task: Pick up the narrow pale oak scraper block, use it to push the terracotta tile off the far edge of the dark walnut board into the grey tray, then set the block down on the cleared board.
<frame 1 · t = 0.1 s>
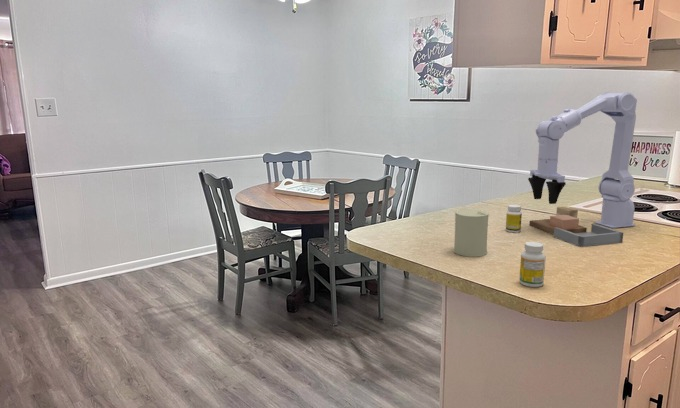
hand: (544, 201, 158), 10 cm above the worktop, tool pointing down, fingers open, 7 cm apart
supplement bottle 2: (531, 284, 116), on the worktop
can: (470, 252, 140), on the worktop
board: (556, 228, 163), on the worktop
tray: (586, 239, 151), on the worktop
tile: (563, 226, 160), point 2 cm above the worktop, touching board
scraper: (566, 222, 172), on the worktop
supplement bottle: (512, 231, 162), on the worktop
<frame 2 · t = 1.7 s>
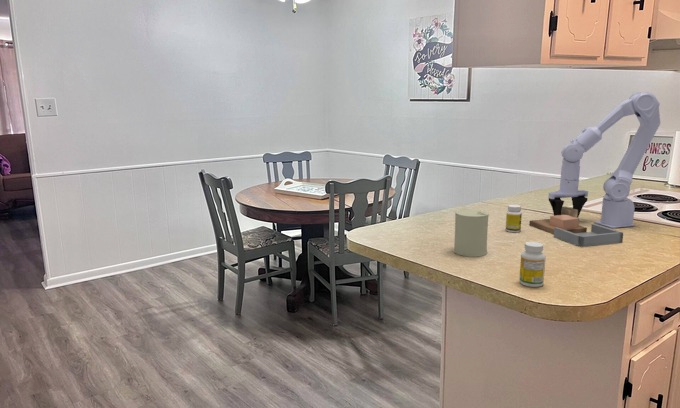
hand: (566, 217, 171), 2 cm above the worktop, tool pointing down, fingers open, 7 cm apart
nothing on the worktop moved.
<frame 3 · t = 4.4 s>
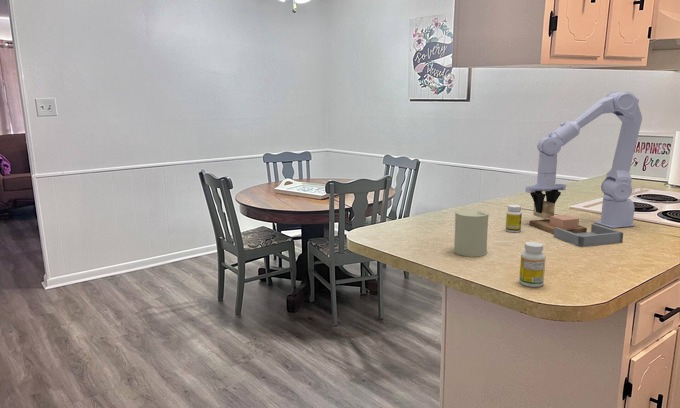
hand: (544, 212, 169), 4 cm above the worktop, tool pointing down, fingers closed on scraper, 4 cm apart
scraper: (543, 216, 169), point 3 cm above the worktop, touching gripper
everything else where it was.
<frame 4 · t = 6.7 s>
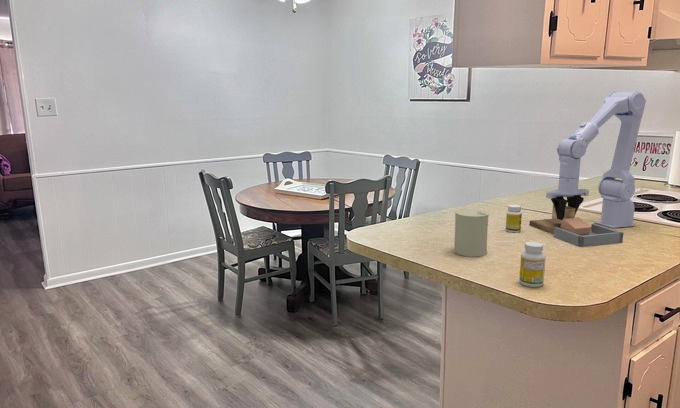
hand: (565, 218, 159), 4 cm above the worktop, tool pointing down, fingers closed on scraper, 4 cm apart
tile: (574, 231, 155), point 1 cm above the worktop, tilted 17°, touching scraper
scraper: (562, 221, 160), point 3 cm above the worktop, touching gripper, tile
everything else where it was.
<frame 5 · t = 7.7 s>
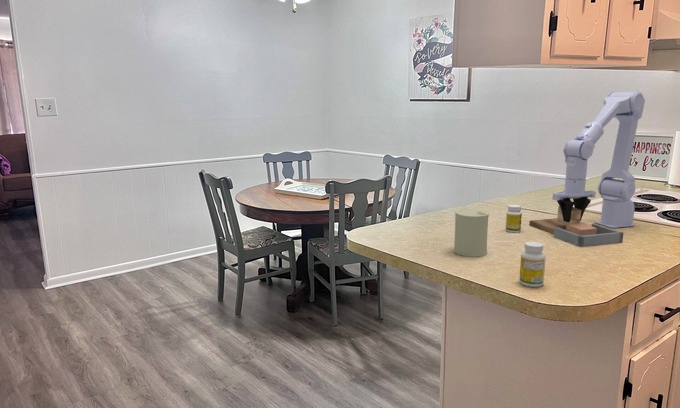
hand: (572, 221, 156), 4 cm above the worktop, tool pointing down, fingers closed on scraper, 4 cm apart
tile: (580, 235, 153), point 1 cm above the worktop, touching scraper, tray
scraper: (568, 223, 158), point 3 cm above the worktop, touching gripper, tile
everything else where it was.
when the fingers open (4 cm above the worktop, at t = 9.7 s): scraper drops 1 cm, resting on board.
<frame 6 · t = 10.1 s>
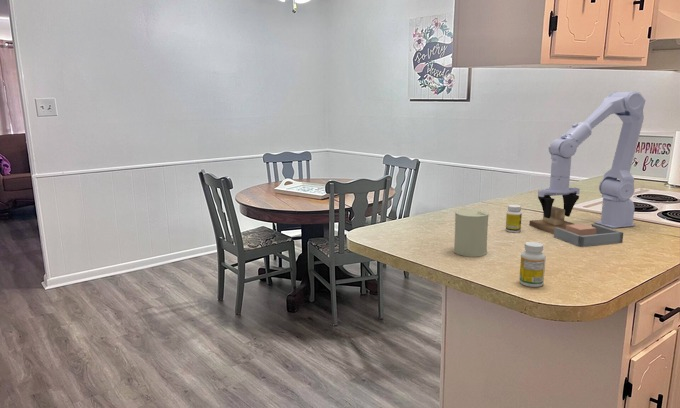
hand: (556, 216, 163), 4 cm above the worktop, tool pointing down, fingers open, 7 cm apart
tile: (580, 235, 153), resting on tray
scraper: (553, 222, 165), point 2 cm above the worktop, touching board
everything else where it was.
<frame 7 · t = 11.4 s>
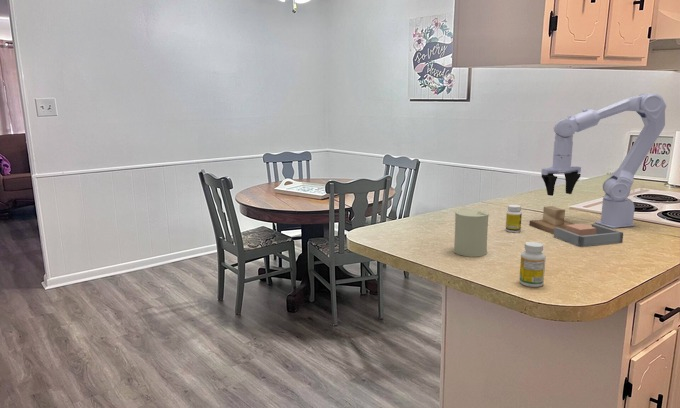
hand: (559, 194, 170), 10 cm above the worktop, tool pointing down, fingers open, 7 cm apart
nothing on the worktop moved.
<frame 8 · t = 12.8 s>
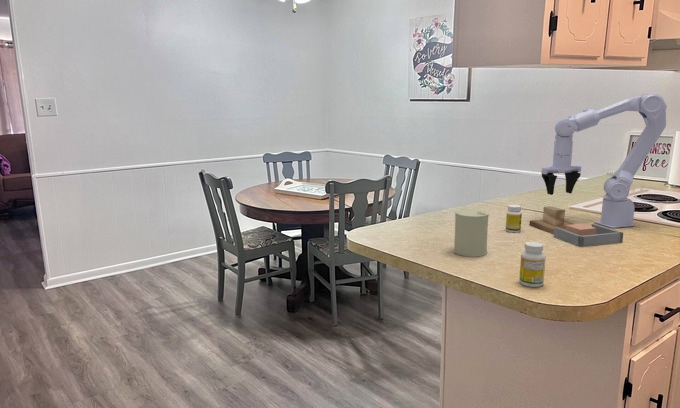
hand: (559, 193, 171), 10 cm above the worktop, tool pointing down, fingers open, 7 cm apart
nothing on the worktop moved.
at the end: tile inside the target area on the tray (2.9 cm from its centre), point 0.4 cm above the tray's base; the gripper is holding nothing; scraper inside the target area on the board (2.1 cm from its centre), point 1.6 cm above the board's base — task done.
